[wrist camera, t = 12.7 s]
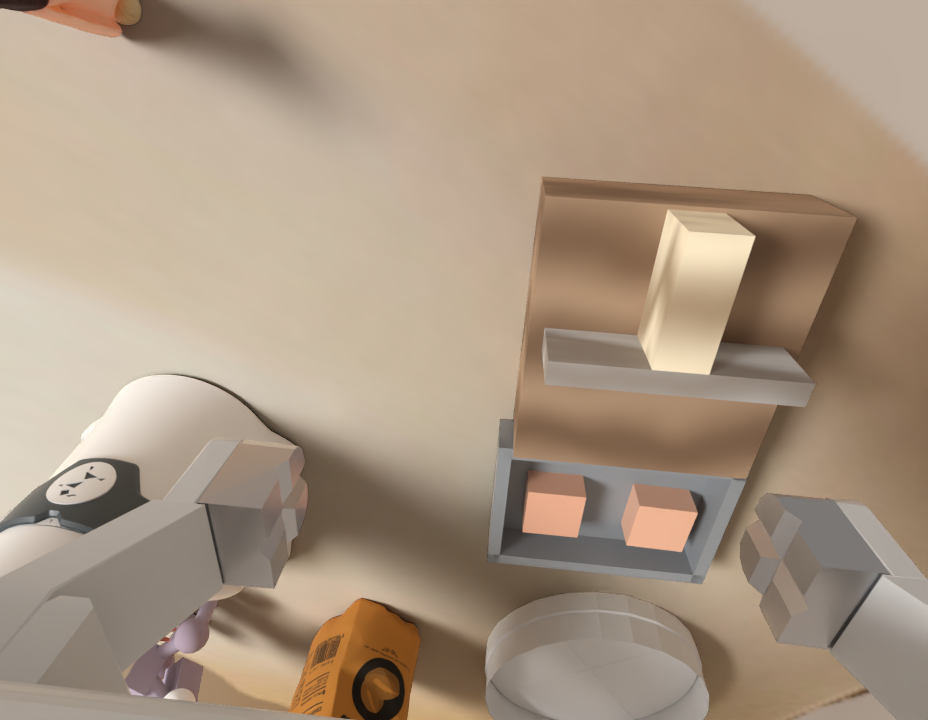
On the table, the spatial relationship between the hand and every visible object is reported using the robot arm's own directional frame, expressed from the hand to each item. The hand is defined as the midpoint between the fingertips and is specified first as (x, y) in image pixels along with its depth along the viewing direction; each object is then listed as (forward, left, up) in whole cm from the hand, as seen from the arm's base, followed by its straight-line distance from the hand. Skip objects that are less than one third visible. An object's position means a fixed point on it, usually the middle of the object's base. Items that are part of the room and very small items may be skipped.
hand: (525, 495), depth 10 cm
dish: (-49, -12, -27) cm, 57 cm away
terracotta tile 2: (-25, -5, -24) cm, 35 cm away
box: (-24, -9, -27) cm, 37 cm away
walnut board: (-9, -9, -27) cm, 30 cm away
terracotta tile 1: (-25, -14, -24) cm, 37 cm away
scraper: (-4, -9, -22) cm, 24 cm away
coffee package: (-49, +12, -27) cm, 57 cm away
